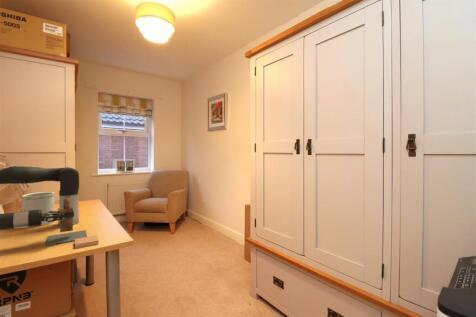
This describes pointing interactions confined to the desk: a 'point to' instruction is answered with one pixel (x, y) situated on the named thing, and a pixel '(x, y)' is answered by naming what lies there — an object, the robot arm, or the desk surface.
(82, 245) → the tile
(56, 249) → the desk surface
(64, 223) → the paddle
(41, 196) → the utensil holder
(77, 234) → the tool mat
